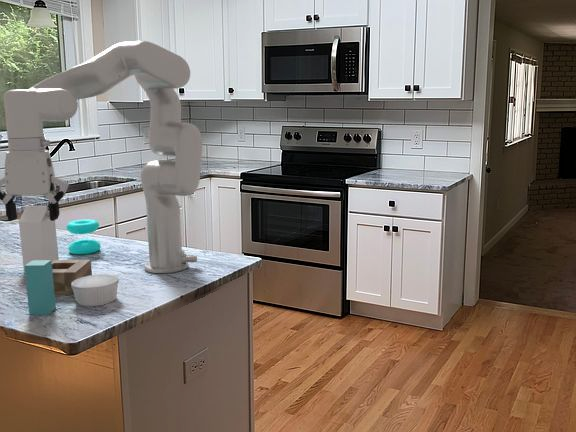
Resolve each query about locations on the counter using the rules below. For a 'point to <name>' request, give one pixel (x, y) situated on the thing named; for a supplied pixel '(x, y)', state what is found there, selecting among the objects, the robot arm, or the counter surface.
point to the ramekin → (95, 289)
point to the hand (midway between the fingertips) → (33, 219)
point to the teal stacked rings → (84, 244)
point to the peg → (40, 287)
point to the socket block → (68, 274)
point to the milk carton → (37, 235)
